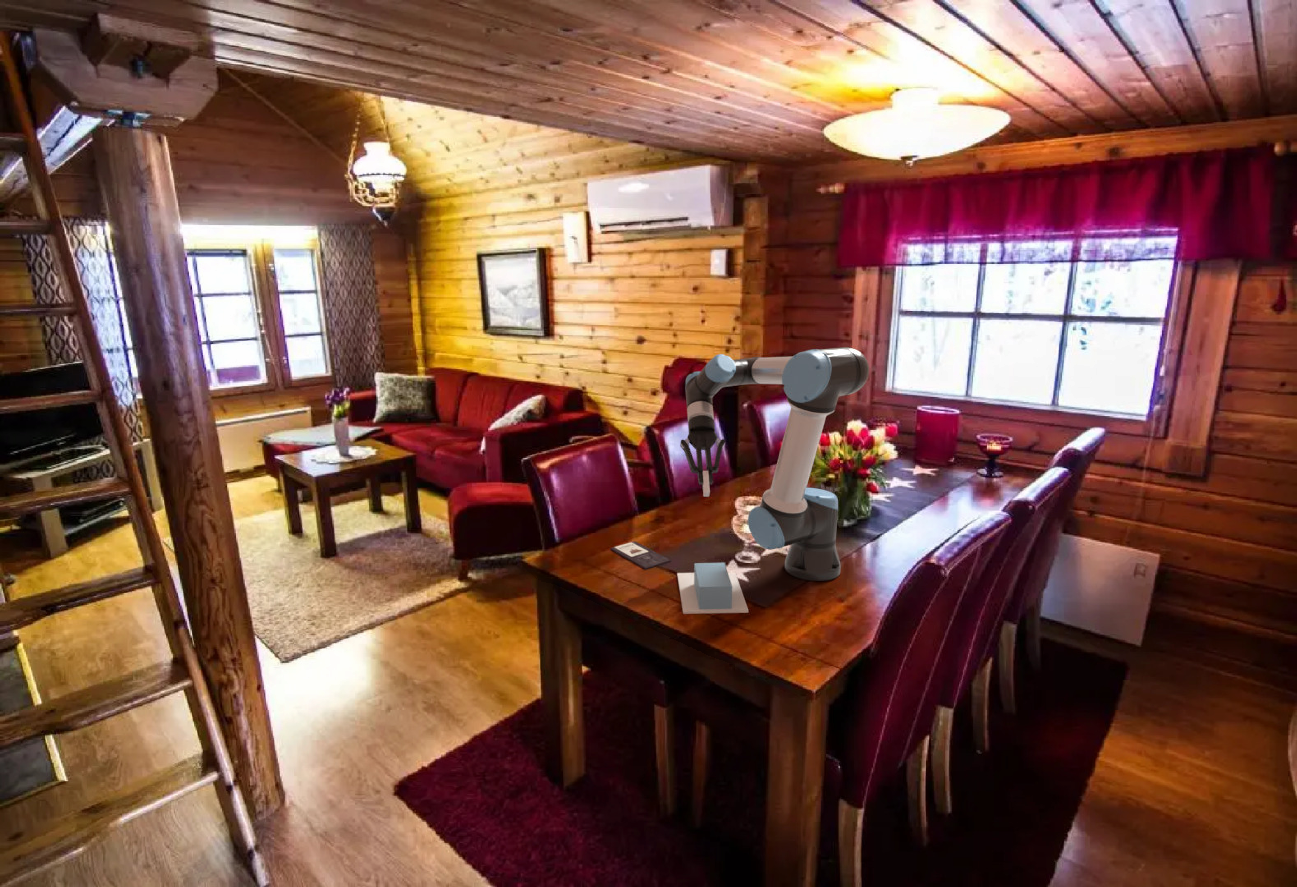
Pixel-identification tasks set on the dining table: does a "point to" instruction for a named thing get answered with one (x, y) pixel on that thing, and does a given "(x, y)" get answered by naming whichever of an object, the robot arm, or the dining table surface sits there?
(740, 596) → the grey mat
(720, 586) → the blue block
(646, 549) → the chocolate bar
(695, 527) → the dining table surface
